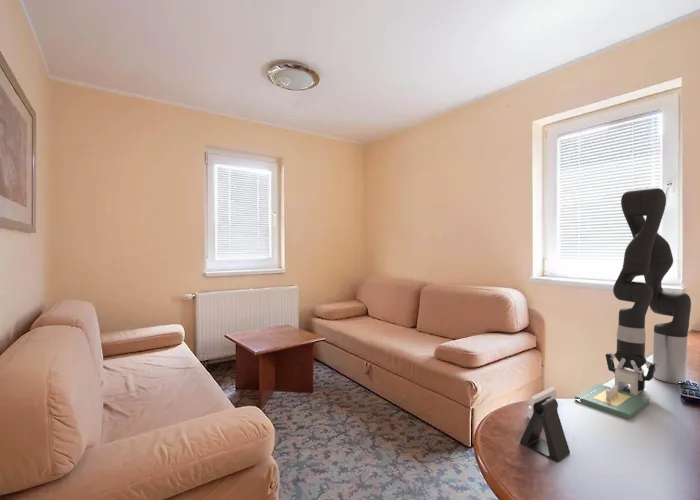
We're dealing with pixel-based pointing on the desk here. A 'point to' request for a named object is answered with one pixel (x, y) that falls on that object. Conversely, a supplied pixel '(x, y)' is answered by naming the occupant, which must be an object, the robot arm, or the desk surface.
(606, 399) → the header board
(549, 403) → the phone stand
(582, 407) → the desk surface
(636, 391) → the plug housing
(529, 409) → the white wedge bracket
